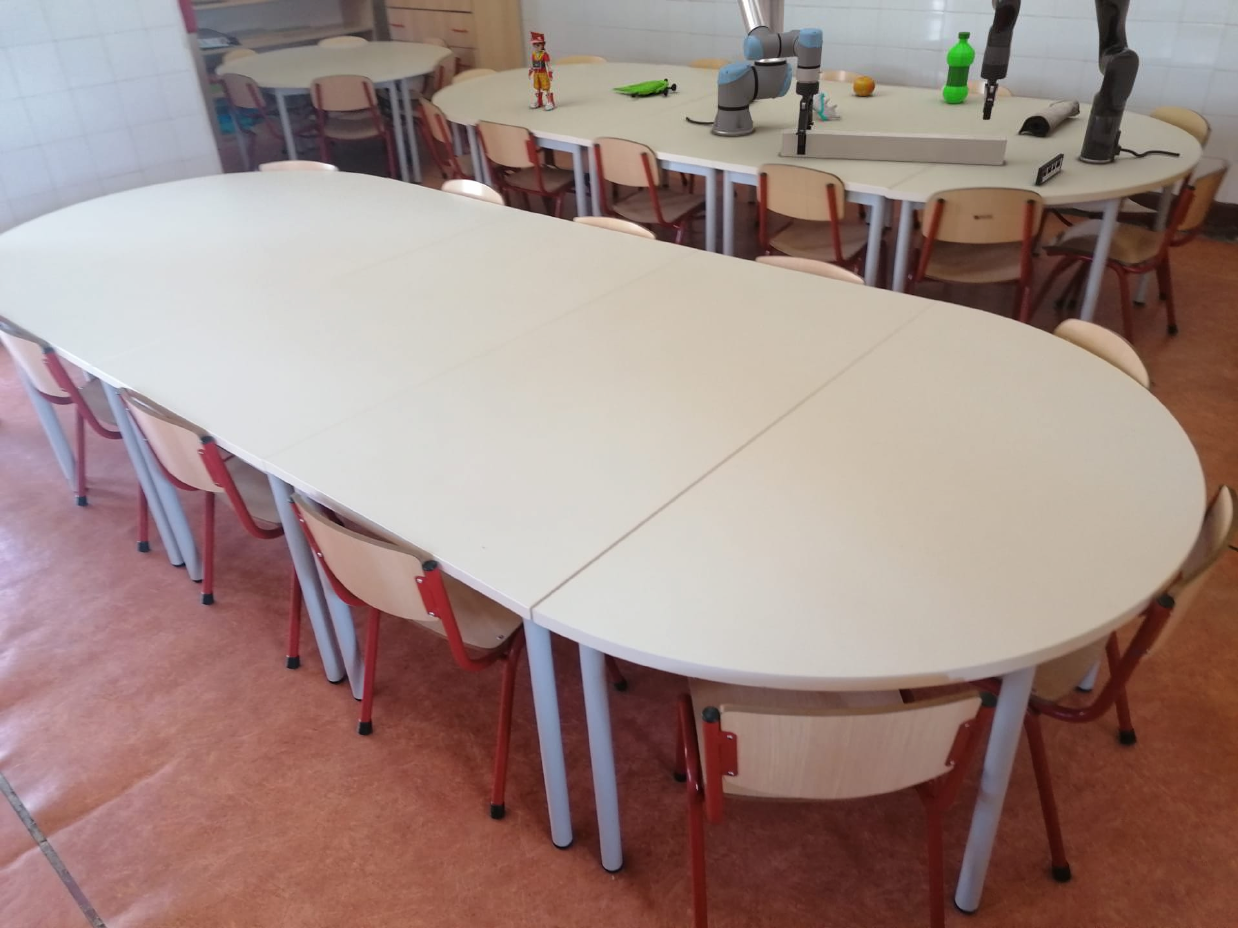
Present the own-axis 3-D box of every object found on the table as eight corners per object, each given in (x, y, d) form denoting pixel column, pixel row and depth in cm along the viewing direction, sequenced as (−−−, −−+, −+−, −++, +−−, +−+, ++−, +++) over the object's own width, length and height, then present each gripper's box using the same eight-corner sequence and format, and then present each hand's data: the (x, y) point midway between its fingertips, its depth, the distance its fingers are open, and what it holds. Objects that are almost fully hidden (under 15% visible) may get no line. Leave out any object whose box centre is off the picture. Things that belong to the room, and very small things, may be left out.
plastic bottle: (973, 101, 354) (984, 32, 339) (955, 106, 349) (966, 36, 335) (952, 97, 361) (962, 29, 346) (934, 102, 356) (944, 33, 342)
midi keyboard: (1039, 185, 269) (1043, 168, 266) (1035, 184, 270) (1038, 168, 267) (1060, 170, 279) (1064, 154, 277) (1056, 169, 280) (1060, 153, 277)
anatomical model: (804, 89, 349) (829, 82, 348) (807, 116, 355) (832, 109, 354) (814, 99, 336) (840, 91, 335) (817, 126, 342) (843, 119, 341)
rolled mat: (1047, 105, 331) (1071, 88, 323) (1061, 126, 332) (1085, 109, 324) (1014, 127, 314) (1039, 109, 306) (1028, 149, 314) (1054, 132, 306)
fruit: (848, 88, 368) (860, 70, 365) (850, 91, 375) (862, 74, 372) (865, 99, 366) (877, 81, 363) (867, 102, 374) (879, 85, 371)
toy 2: (686, 85, 398) (631, 84, 414) (685, 72, 395) (629, 72, 411) (651, 104, 381) (596, 103, 397) (650, 92, 378) (594, 91, 394)
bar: (780, 156, 308) (781, 132, 304) (782, 152, 311) (784, 129, 307) (1002, 165, 287) (1007, 140, 283) (1002, 161, 291) (1007, 136, 286)
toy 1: (525, 109, 381) (517, 32, 364) (534, 104, 388) (527, 28, 371) (550, 110, 377) (543, 32, 360) (559, 105, 384) (553, 28, 367)
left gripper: (814, 89, 284) (809, 160, 297) (824, 73, 302) (819, 141, 314) (790, 88, 286) (786, 159, 299) (802, 73, 304) (797, 140, 316)
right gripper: (1009, 66, 267) (999, 122, 277) (1008, 56, 278) (998, 111, 287) (982, 66, 269) (973, 122, 279) (982, 56, 280) (973, 110, 290)
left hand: (803, 150), depth 307 cm, fingers open, 10 cm apart
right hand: (986, 116), depth 283 cm, fingers open, 8 cm apart
